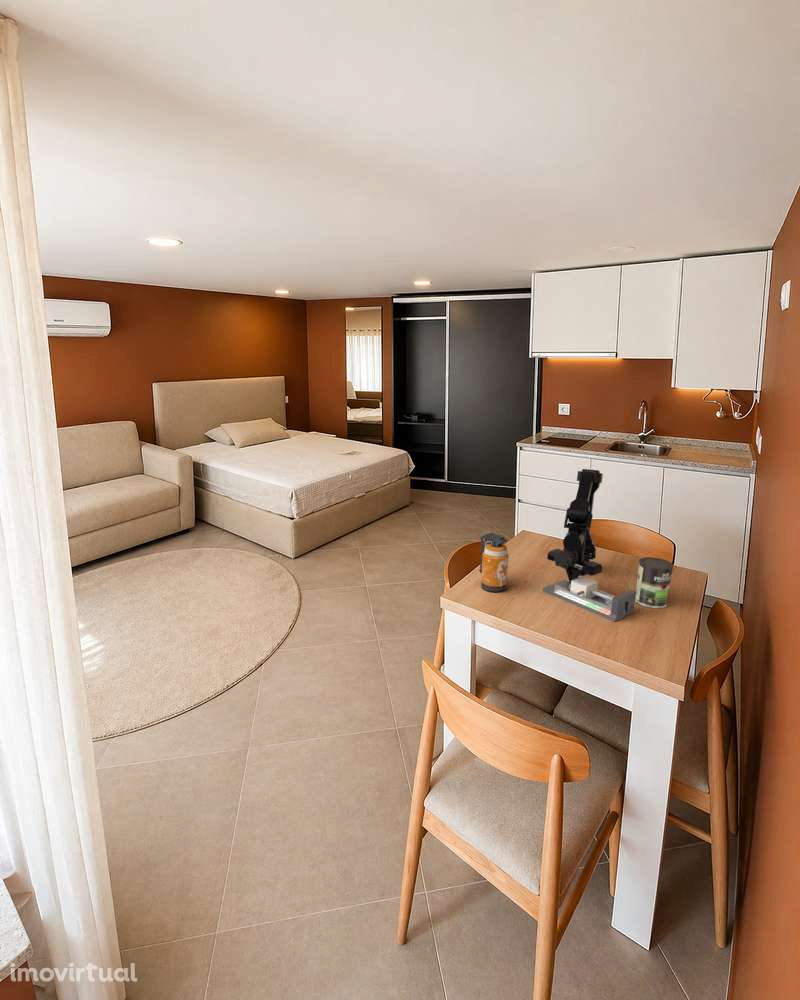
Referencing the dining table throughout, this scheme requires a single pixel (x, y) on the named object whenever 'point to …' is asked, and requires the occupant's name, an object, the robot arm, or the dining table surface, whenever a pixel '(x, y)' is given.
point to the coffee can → (653, 582)
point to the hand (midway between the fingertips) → (571, 584)
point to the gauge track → (596, 601)
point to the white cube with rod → (587, 588)
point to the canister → (494, 562)
